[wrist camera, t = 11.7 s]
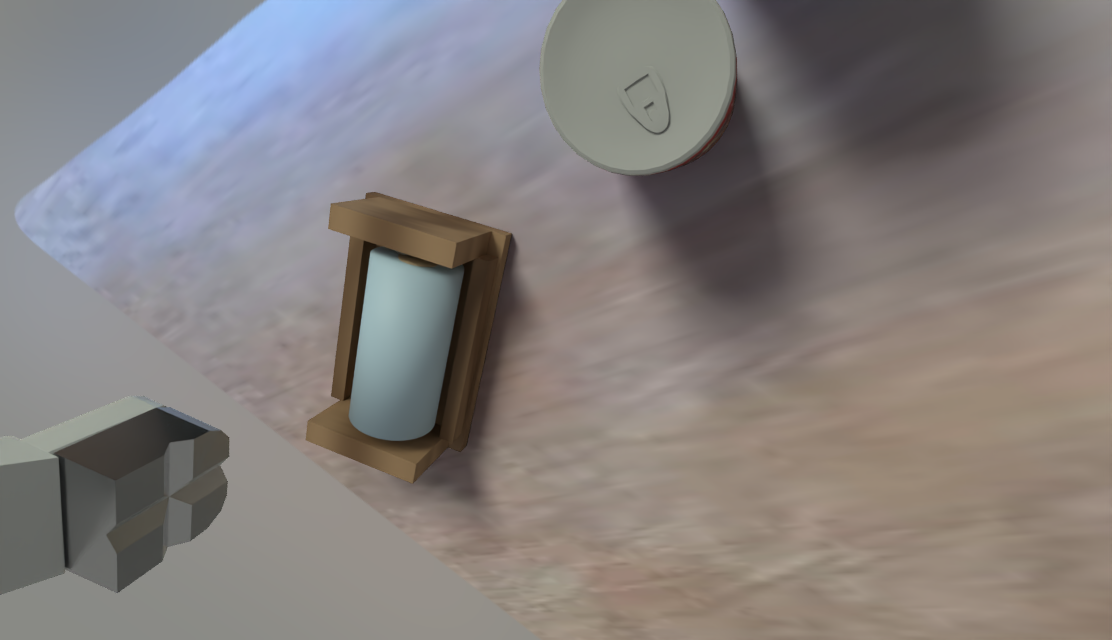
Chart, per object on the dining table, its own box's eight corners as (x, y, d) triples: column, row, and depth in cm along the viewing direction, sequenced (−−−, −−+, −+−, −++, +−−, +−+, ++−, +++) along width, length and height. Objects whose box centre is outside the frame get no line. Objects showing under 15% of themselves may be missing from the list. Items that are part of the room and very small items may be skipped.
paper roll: (472, 259, 38) (453, 282, 33) (443, 408, 42) (422, 450, 37) (388, 238, 38) (355, 258, 33) (366, 389, 42) (334, 429, 37)
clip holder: (511, 233, 38) (473, 247, 32) (466, 445, 43) (426, 489, 37) (374, 191, 40) (316, 198, 34) (347, 399, 45) (293, 434, 39)
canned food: (664, 196, 34) (634, 216, 24) (568, 98, 34) (498, 77, 24) (769, 91, 31) (785, 64, 21) (663, -15, 32) (630, -93, 21)
